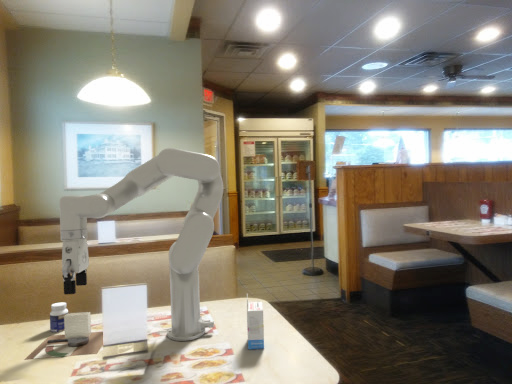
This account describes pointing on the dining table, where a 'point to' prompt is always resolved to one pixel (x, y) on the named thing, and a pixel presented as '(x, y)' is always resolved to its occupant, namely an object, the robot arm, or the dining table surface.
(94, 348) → the brown flat square slab
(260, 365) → the dining table surface
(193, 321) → the robot arm
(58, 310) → the pill bottle
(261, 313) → the ink box
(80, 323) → the white piece
